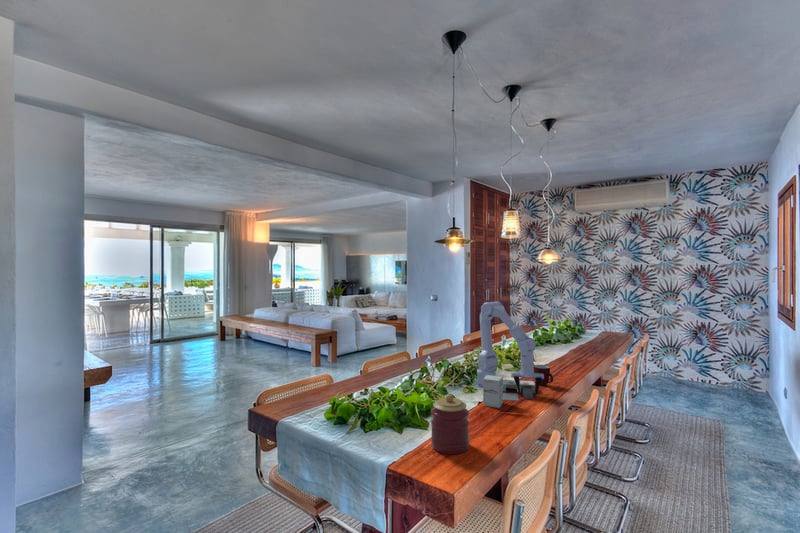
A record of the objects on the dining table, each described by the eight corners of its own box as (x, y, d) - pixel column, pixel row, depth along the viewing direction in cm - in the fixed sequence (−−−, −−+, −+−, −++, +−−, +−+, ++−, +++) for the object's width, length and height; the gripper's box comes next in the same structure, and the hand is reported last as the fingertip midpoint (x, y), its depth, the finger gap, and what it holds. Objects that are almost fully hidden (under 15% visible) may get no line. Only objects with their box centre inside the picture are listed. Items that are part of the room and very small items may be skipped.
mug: (557, 387, 197) (557, 367, 197) (549, 390, 192) (549, 370, 192) (539, 382, 205) (538, 363, 205) (530, 385, 200) (530, 366, 200)
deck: (500, 401, 177) (500, 399, 177) (500, 394, 187) (500, 392, 187) (519, 402, 175) (519, 400, 175) (517, 395, 185) (517, 393, 185)
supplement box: (482, 407, 169) (482, 378, 169) (487, 402, 176) (486, 374, 176) (499, 410, 166) (499, 380, 166) (503, 404, 172) (503, 376, 173)
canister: (424, 449, 130) (423, 396, 131) (442, 435, 141) (441, 386, 141) (459, 459, 123) (458, 403, 123) (475, 443, 134) (474, 392, 134)
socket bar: (503, 393, 189) (502, 383, 189) (502, 388, 195) (502, 379, 195) (535, 394, 185) (535, 384, 185) (533, 390, 192) (533, 380, 192)
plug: (524, 400, 178) (523, 393, 178) (522, 395, 185) (522, 388, 186) (533, 401, 177) (533, 393, 177) (531, 395, 185) (531, 388, 185)
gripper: (511, 365, 179) (512, 395, 179) (544, 367, 176) (545, 396, 176) (510, 362, 186) (511, 390, 186) (542, 363, 183) (543, 392, 183)
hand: (527, 393), depth 181 cm, fingers open, 7 cm apart
